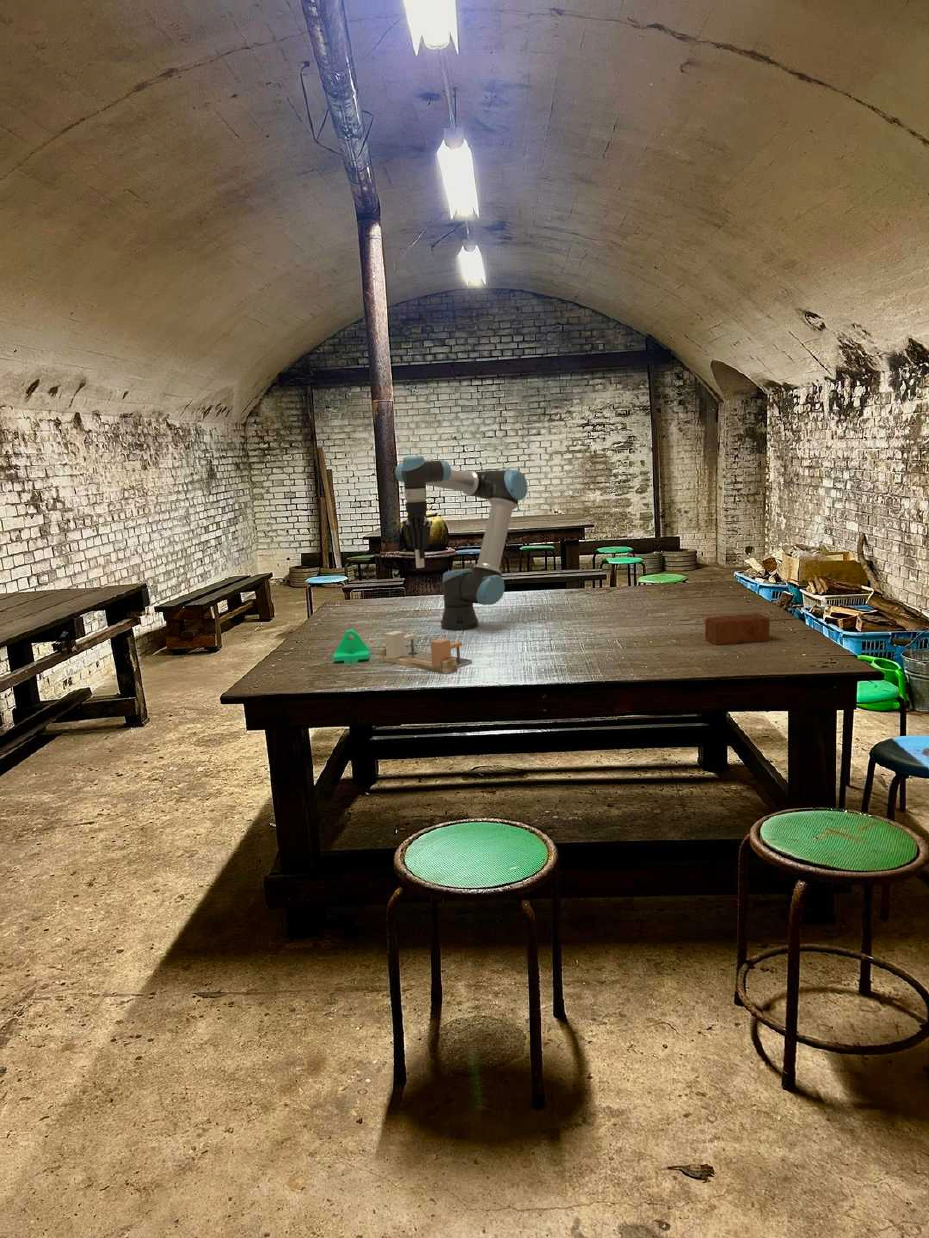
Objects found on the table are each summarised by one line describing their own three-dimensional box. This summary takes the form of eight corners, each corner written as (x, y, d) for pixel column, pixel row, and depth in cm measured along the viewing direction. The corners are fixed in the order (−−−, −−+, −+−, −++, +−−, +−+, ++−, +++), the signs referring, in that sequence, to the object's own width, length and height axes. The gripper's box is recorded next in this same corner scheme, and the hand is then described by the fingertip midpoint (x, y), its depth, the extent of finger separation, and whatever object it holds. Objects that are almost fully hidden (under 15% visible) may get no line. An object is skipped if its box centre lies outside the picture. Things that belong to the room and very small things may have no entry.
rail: (390, 657, 268) (389, 646, 268) (456, 670, 247) (456, 658, 247) (379, 660, 265) (378, 649, 264) (446, 674, 244) (445, 662, 243)
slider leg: (456, 658, 256) (454, 634, 254) (465, 660, 253) (463, 635, 252) (432, 666, 248) (430, 641, 246) (441, 668, 245) (439, 642, 243)
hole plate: (413, 652, 274) (413, 649, 274) (472, 663, 256) (471, 659, 255) (396, 657, 268) (396, 654, 268) (455, 668, 250) (455, 665, 250)
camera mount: (333, 664, 264) (331, 635, 262) (335, 658, 271) (333, 630, 269) (368, 662, 265) (366, 633, 262) (370, 656, 272) (367, 628, 270)
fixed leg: (410, 650, 270) (409, 627, 269) (418, 651, 268) (417, 628, 266) (386, 657, 262) (384, 633, 260) (394, 659, 259) (392, 634, 258)
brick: (770, 617, 262) (769, 641, 264) (758, 612, 270) (757, 635, 272) (715, 622, 260) (715, 646, 262) (705, 616, 268) (704, 640, 270)
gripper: (395, 501, 272) (400, 568, 277) (421, 501, 263) (426, 570, 268) (410, 500, 277) (415, 565, 282) (436, 500, 269) (440, 567, 273)
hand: (420, 567), depth 275 cm, fingers closed
